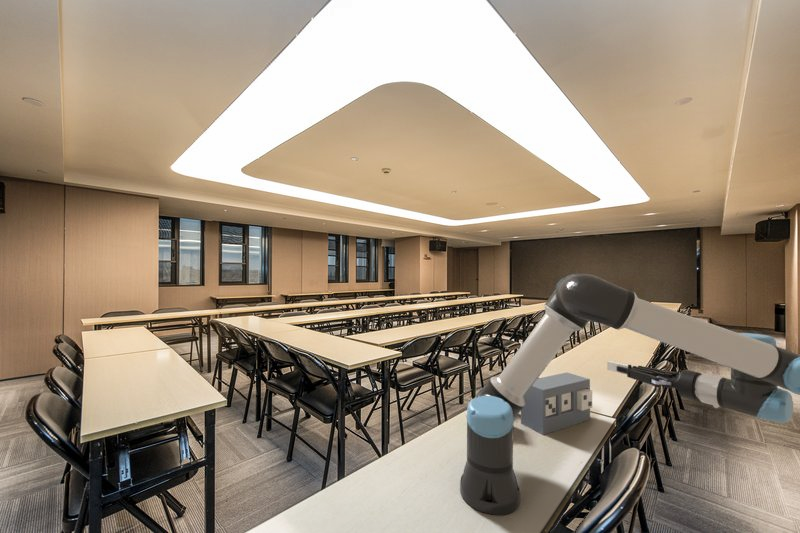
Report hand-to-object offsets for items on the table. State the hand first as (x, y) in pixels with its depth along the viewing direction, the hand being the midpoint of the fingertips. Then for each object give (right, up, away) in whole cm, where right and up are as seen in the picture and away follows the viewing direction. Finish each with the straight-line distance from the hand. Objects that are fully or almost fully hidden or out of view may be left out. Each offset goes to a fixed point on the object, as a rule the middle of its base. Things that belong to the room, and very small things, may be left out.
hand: (608, 365), depth 107 cm
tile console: (-7, -28, +21) cm, 36 cm away
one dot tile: (-6, -23, +19) cm, 30 cm away
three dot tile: (-14, -23, +14) cm, 30 cm away
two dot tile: (+3, -23, +20) cm, 31 cm away
